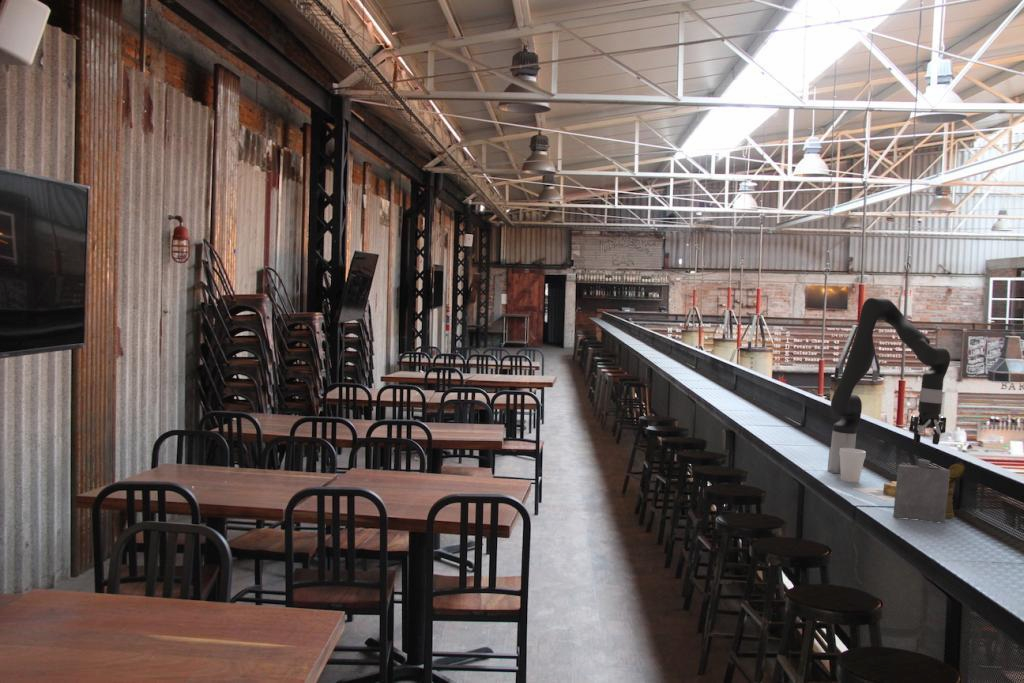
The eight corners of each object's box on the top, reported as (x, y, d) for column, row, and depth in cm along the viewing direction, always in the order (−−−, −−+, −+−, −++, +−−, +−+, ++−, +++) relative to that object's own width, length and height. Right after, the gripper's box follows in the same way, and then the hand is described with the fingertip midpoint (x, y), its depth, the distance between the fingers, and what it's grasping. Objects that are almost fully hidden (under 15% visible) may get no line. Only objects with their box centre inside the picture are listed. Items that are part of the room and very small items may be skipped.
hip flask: (894, 518, 263) (900, 458, 261) (891, 514, 267) (896, 456, 265) (946, 523, 260) (952, 463, 259) (941, 520, 264) (948, 461, 263)
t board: (850, 490, 300) (851, 487, 300) (890, 490, 305) (890, 487, 304) (884, 503, 282) (885, 500, 282) (926, 503, 287) (926, 500, 287)
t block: (877, 490, 298) (878, 481, 298) (897, 490, 301) (898, 481, 300) (896, 497, 288) (897, 488, 288) (917, 497, 291) (918, 488, 291)
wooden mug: (968, 517, 271) (974, 465, 270) (941, 519, 265) (946, 466, 264) (945, 510, 279) (950, 459, 278) (918, 511, 274) (923, 460, 272)
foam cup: (862, 482, 316) (866, 450, 315) (862, 486, 308) (865, 453, 307) (837, 478, 320) (840, 446, 319) (836, 482, 311) (839, 450, 311)
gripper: (938, 399, 301) (934, 442, 302) (907, 398, 297) (902, 441, 298) (954, 402, 293) (949, 446, 294) (922, 401, 290) (917, 445, 291)
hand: (925, 444), depth 296 cm, fingers open, 8 cm apart
